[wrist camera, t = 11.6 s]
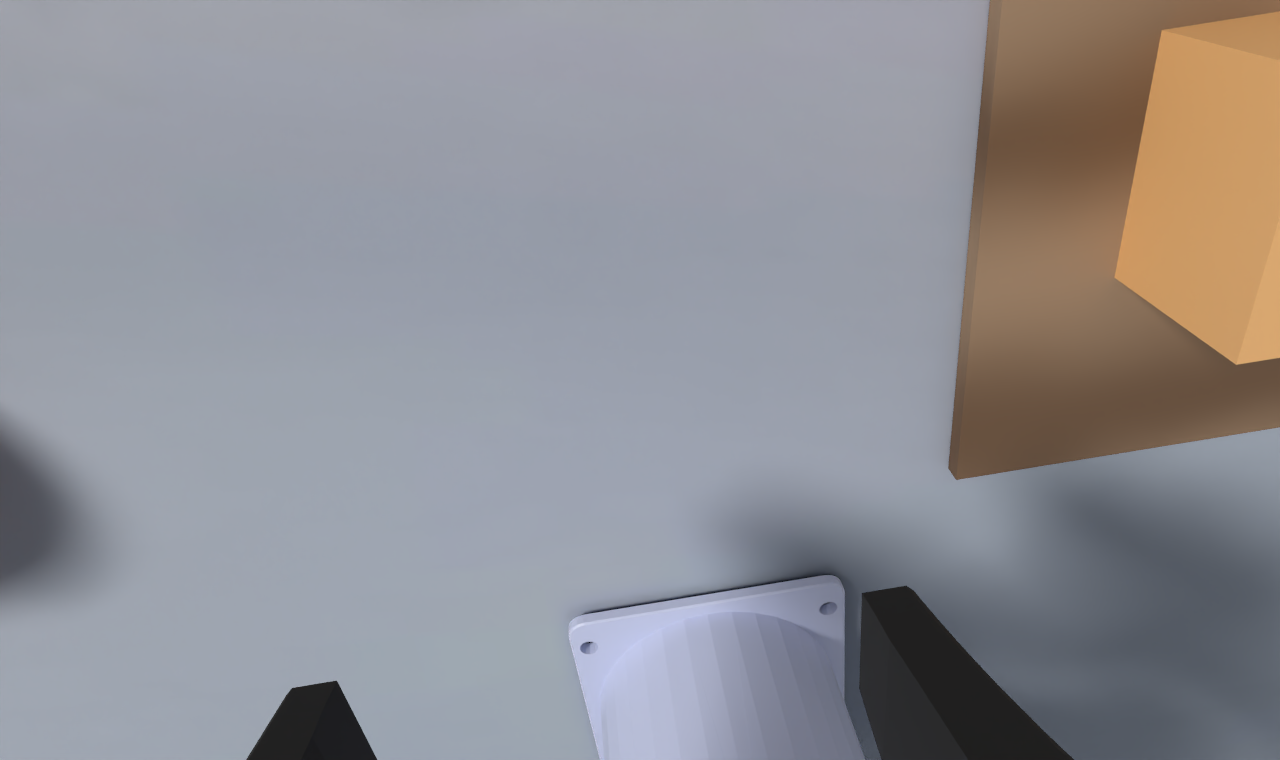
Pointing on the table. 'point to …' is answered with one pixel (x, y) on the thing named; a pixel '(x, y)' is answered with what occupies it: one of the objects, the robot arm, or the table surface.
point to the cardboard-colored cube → (1211, 187)
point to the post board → (1078, 253)
